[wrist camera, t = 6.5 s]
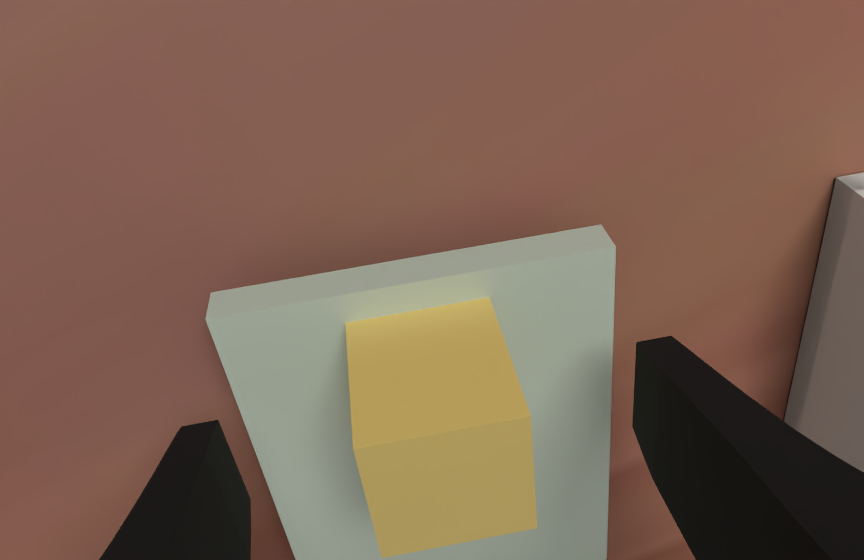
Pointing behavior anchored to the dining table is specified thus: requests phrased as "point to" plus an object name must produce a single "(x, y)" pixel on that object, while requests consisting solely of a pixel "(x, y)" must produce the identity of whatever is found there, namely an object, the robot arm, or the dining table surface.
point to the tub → (835, 335)
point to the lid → (433, 400)
